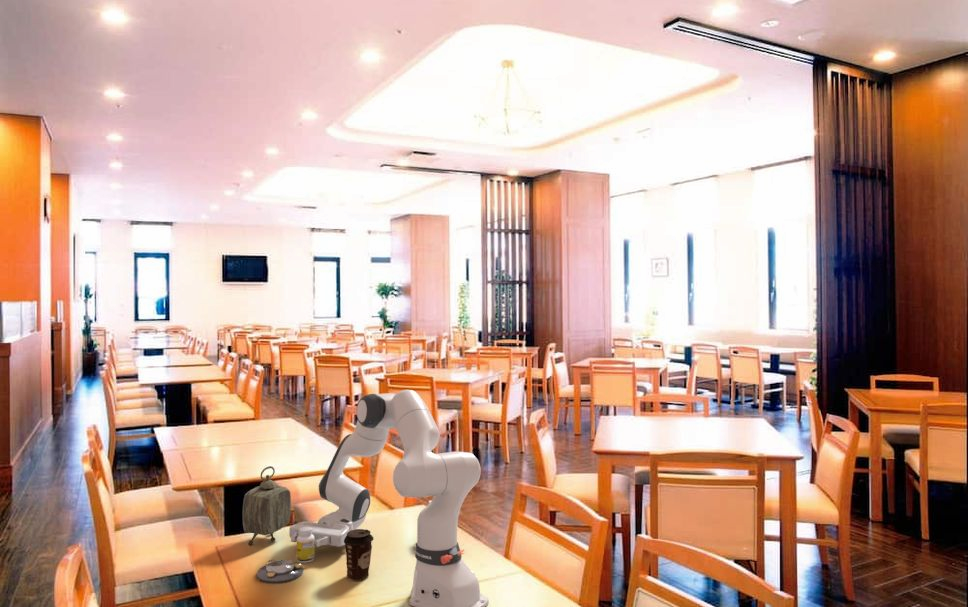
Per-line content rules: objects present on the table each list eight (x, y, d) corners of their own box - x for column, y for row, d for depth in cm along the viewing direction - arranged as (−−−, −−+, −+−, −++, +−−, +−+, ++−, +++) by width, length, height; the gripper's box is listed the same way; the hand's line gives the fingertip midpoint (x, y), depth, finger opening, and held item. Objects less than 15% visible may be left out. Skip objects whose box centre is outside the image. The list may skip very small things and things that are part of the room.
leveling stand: (311, 573, 196) (311, 565, 196) (271, 587, 187) (271, 578, 187) (288, 561, 205) (288, 553, 205) (248, 574, 195) (249, 565, 195)
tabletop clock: (270, 532, 231) (271, 460, 230) (292, 535, 227) (293, 463, 227) (242, 546, 217) (242, 470, 217) (264, 550, 214) (265, 473, 214)
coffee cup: (376, 571, 198) (377, 528, 198) (369, 583, 190) (369, 538, 190) (348, 570, 199) (348, 527, 199) (339, 581, 191) (340, 537, 191)
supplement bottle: (295, 557, 208) (296, 526, 208) (313, 555, 210) (313, 525, 210) (297, 564, 203) (297, 532, 203) (315, 562, 205) (315, 530, 205)
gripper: (305, 514, 222) (277, 526, 210) (356, 522, 215) (331, 536, 202) (304, 532, 222) (277, 546, 210) (356, 542, 215) (330, 557, 202)
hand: (304, 541), depth 206 cm, fingers open, 7 cm apart
